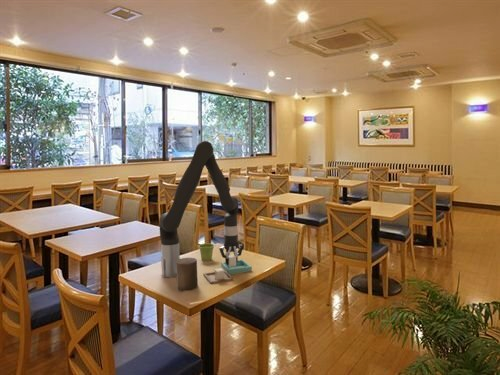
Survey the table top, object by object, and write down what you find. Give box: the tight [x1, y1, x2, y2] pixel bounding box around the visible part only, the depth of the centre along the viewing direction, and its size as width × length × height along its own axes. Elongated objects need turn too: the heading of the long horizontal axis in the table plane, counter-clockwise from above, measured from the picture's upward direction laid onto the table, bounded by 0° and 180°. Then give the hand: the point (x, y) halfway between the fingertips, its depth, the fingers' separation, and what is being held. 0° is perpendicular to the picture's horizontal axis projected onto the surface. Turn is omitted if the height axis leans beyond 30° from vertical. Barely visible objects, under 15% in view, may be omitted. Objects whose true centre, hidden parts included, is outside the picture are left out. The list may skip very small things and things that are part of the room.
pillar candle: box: [176, 257, 199, 292], centre depth 170 cm, size 10×10×15 cm
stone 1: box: [214, 267, 225, 280], centre depth 179 cm, size 4×4×5 cm
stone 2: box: [228, 254, 236, 267], centre depth 193 cm, size 4×4×5 cm
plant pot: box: [198, 242, 215, 262], centre depth 212 cm, size 9×9×9 cm
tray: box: [202, 269, 234, 285], centre depth 182 cm, size 12×13×2 cm
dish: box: [220, 259, 253, 275], centre depth 194 cm, size 13×13×3 cm
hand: (231, 263), depth 193 cm, fingers closed on stone 2, 4 cm apart
